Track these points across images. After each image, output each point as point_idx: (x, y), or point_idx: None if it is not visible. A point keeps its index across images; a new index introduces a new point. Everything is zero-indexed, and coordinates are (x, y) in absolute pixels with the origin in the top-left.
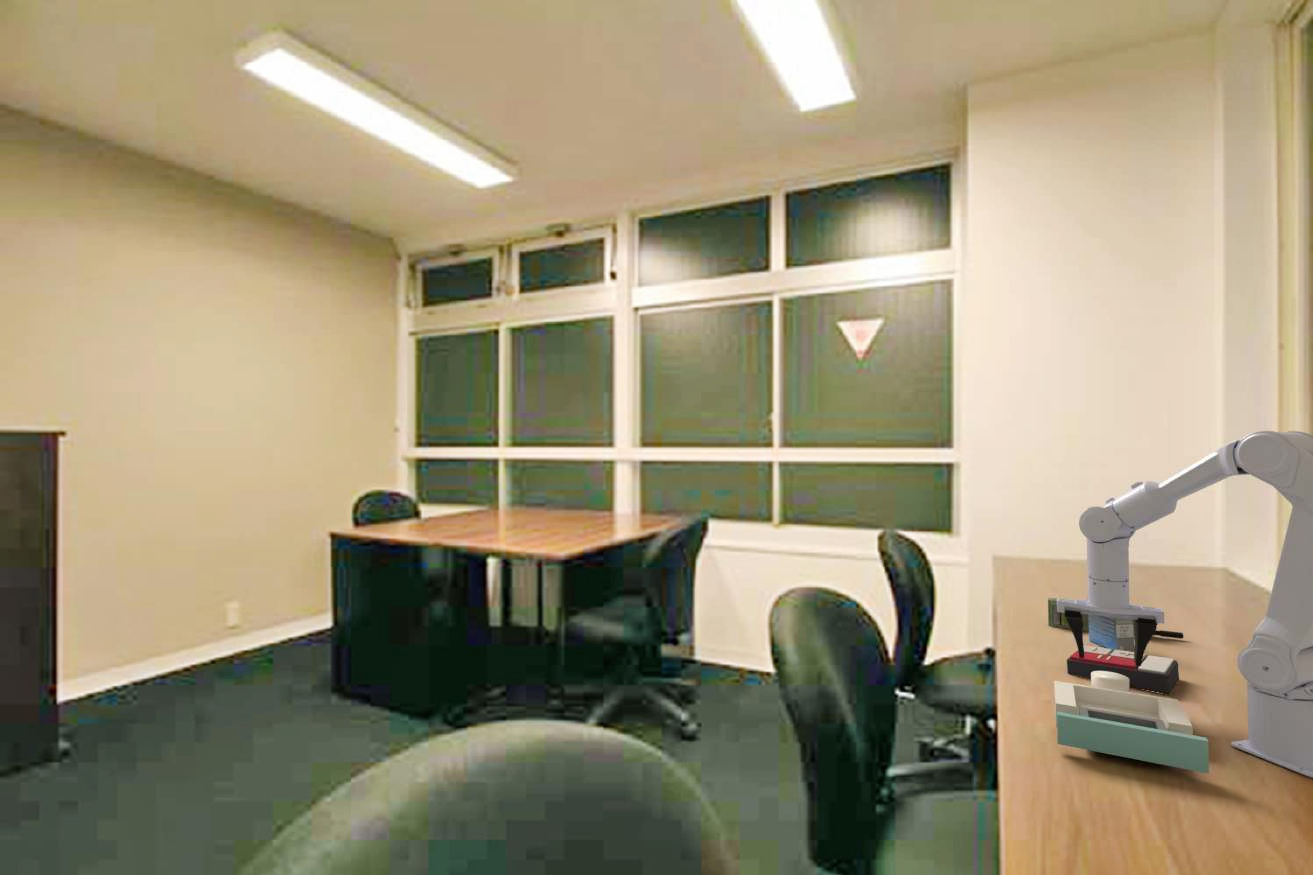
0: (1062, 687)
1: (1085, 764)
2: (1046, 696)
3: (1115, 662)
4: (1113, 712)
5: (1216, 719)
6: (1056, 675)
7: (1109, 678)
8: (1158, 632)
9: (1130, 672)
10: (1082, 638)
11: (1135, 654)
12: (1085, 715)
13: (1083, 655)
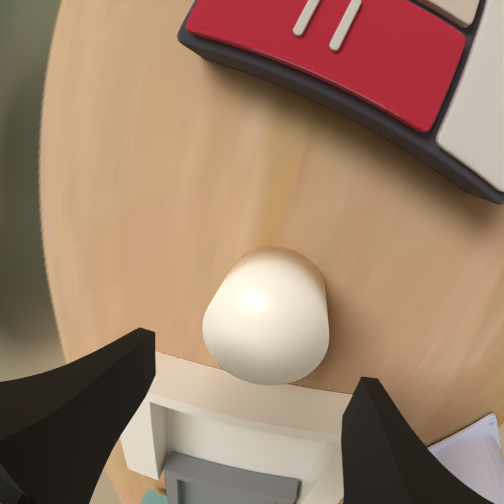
0: None
1: None
2: (118, 311)
3: (362, 80)
4: (218, 486)
5: (478, 349)
6: (156, 95)
7: (256, 361)
8: None
9: (401, 138)
10: (111, 448)
11: (354, 433)
12: (173, 490)
13: (148, 385)
